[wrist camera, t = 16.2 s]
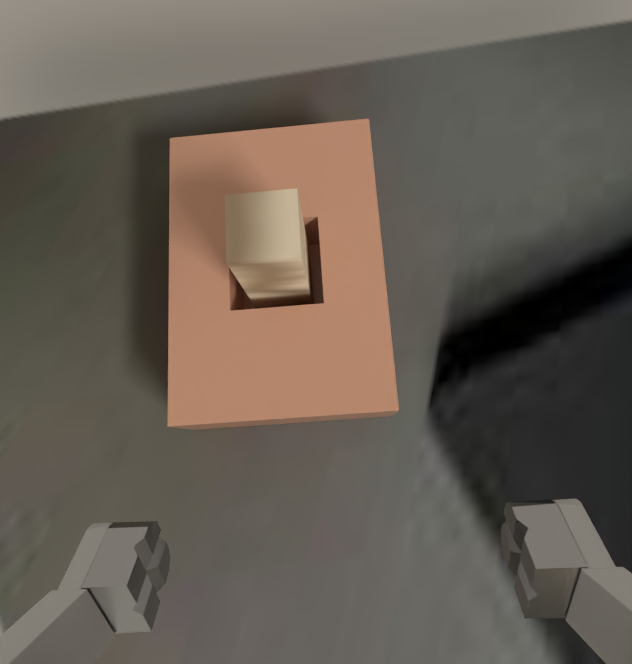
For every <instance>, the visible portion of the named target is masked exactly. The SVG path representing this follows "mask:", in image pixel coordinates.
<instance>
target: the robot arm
mask: <svg viewBox="0 0 632 664" xmlns="http://www.w3.org/2000/svg"><path fill="white" fill-rule="evenodd" d="M504 514H505V517H506V520H507V522H505V523H504V524H503V525H502V530H501V542H502V549H503V554H504V558H505V561H506V564H507V567H508V569H509V570H510V571H511V572H512V573H514V574H515V575H516V582H515V587H514V588H515V591H516V594H517V597H518V600H519V603H520V606H521V609H522V612H523V615H524V618H566V621H567V622H568V624H569V625H570V626H571V627H572V628H573V629H574V630H575V631H576V632H577V633H578V634H579V635H580V636H581V637H582V638H583V639H584V641H585V642H586V643H587V644H588V645H589V646H590V647H591V648H592V649H593V650H594V651H595V652H596V653H597V654H598V655H599V657H600V658H601V659H602V660H603V661H604V662H605V663H606V664H632V573H630V572H629V571H628V570H627V569H625V568H624V567H616V566H615V564H614V562H613V561H612V559H611V557H610V555H609V553H608V551H607V550H606V548H605V546H604V544H603V542H602V540H601V538H600V537H599V535H598V533H597V531H596V529H595V527H594V526H593V524H592V522H591V520H590V518H589V516H588V515H587V513H586V511H585V509H584V507H583V505H582V503H581V502H580V501H578V500H577V499H562V500H536V501H521V502H507V504H506V505H505V509H504ZM160 531H161V529H160V527H159V525H158V523H157V521H146V522H110V523H93V524H92V525H91V526H90V527H89V528H88V529H87V530H86V532H85V534H84V536H83V538H82V540H81V542H80V545H79V547H78V549H77V551H76V553H75V555H74V557H73V559H72V561H71V563H70V565H69V567H68V569H67V571H66V573H65V576H64V578H63V580H62V582H61V584H60V586H59V588H58V590H51V591H50V592H49V593H48V594H47V595H46V596H45V597H43V598H42V599H41V600H40V601H39V602H38V603H37V604H36V605H35V606H33V607H32V608H31V609H30V610H29V611H28V612H27V613H26V614H24V615H23V616H22V617H21V618H20V619H19V620H18V621H17V622H16V623H14V624H13V625H12V626H11V627H10V628H9V629H8V630H7V631H5V632H4V633H3V634H2V635H1V636H0V664H93V663H94V662H95V661H96V660H97V658H98V657H99V656H100V655H101V653H102V652H103V651H104V650H105V648H106V647H107V646H108V645H109V643H110V642H111V641H112V640H113V638H114V637H115V633H129V632H145V631H152V627H153V624H154V621H155V617H156V614H157V610H158V607H159V604H160V600H159V598H158V595H157V593H156V592H157V591H158V590H159V589H160V588H161V587H162V586H163V585H164V584H165V583H166V579H167V576H168V572H169V564H170V553H169V547H168V545H167V543H166V541H164V540H163V539H161V538H160V537H159V534H160Z"/></svg>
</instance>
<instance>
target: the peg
mask: <svg viewBox="0 0 632 664" xmlns="http://www.w3.org/2000/svg"><path fill="white" fill-rule="evenodd" d="M225 226H226V263H227V265H228V266H229V268H230V269H231V271H232V272H233V274H234V275H235V277H236V278H237V280H238V281H239V283H240V285H241V286H242V288H243V289H244V291H245V292H246V294H247V295H248V297H249V298H250V300H251V301H252V303H253V304H254V306H255V307H256V309H258V308H271V307H283V306H296V305H308V304H314V302H313V287H312V271H311V257H310V252H309V247H308V242H307V237H306V231H305V226H304V221H303V216H302V211H301V206H300V201H299V196H298V190H297V188H296V189H285V190H273V191H262V192H251V193H240V194H229V195H225Z"/></svg>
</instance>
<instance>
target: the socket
mask: <svg viewBox="0 0 632 664" xmlns="http://www.w3.org/2000/svg"><path fill="white" fill-rule="evenodd" d="M296 188H297V190H298V196H299V201H300V206H301V211H302V216H303V221H304V226H305V231H306V237H307V242H308V247H309V252H310V257H311V271H312V287H313V302H314V304H308V305H296V306H283V307H271V308H258V309H256V307H255V306H254V304H253V303H252V301H251V300H250V298H249V297H248V295H247V294H246V292H245V291H244V289H243V288H242V286H241V285H240V283H239V281H238V280H237V278H236V277H235V275H234V274H233V272H232V271H231V269H230V268H229V266H228V265H227V263H226V226H225V195H229V194H240V193H251V192H262V191H273V190H285V189H296ZM398 411H399V406H398V396H397V386H396V377H395V367H394V357H393V348H392V338H391V328H390V319H389V309H388V299H387V290H386V280H385V270H384V261H383V251H382V241H381V231H380V222H379V212H378V202H377V193H376V183H375V173H374V164H373V154H372V144H371V135H370V125H369V119H360V120H350V121H340V122H330V123H319V124H309V125H299V126H289V127H278V128H268V129H258V130H248V131H237V132H227V133H217V134H206V135H196V136H186V137H176V138H170V184H169V322H168V427H176V428H185V429H194V430H198V429H213V428H227V427H242V426H256V425H271V424H285V423H300V422H314V421H329V420H344V419H358V418H373V417H387V416H392V415H393V414H395V413H396V412H398Z"/></svg>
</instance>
